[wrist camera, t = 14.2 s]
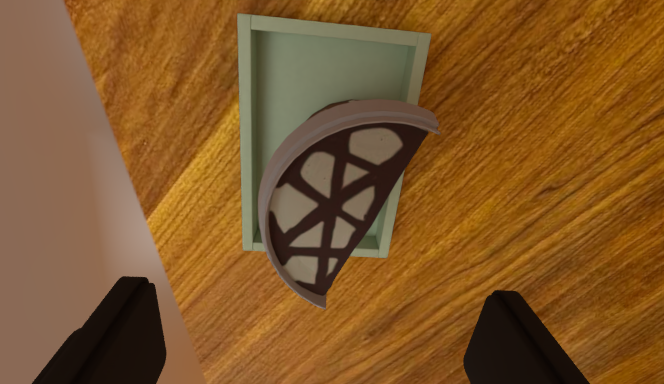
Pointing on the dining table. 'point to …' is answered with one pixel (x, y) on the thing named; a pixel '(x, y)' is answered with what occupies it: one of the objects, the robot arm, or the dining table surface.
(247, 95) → the tray
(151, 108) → the dining table surface
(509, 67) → the dining table surface
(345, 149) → the food container
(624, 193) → the dining table surface
